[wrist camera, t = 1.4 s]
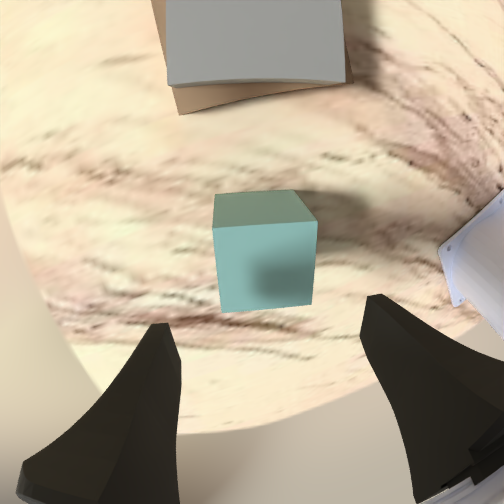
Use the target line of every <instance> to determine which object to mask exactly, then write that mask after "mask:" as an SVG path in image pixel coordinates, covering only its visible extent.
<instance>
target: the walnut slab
mask: <svg viewBox="0 0 504 504" xmlns="http://www.w3.org/2000/svg"><path fill="white" fill-rule="evenodd" d="M151 2H152V7H153V11H154V16H155V20H156V25H157V29H158V33H159V38H160V42H161V46H162V50H163V54H164V58H165V62H166V66H167V56H166V0H151ZM344 53H345V82H344V83H337V84H331V85H325V84H309V83H274V82H267V83H231V84H215V85H203V86H193V87H184V88H174V87H172V90H173V94H174V98H175V102H176V106H177V109H178V113H179V115H184V114H188V113H191V112H195V111H198V110H202V109H206V108H209V107H213V106H217V105H221V104H226V103H230V102H234V101H239V100H243V99H248V98H253V97H258V96H263V95H269V94H274V93H280V92H286V91H293V90H299V89H307V88H315V87H323V86H332V85H343V84H352V83H354V81H353V76H352V71H351V66H350V61H349V57H348V52H347V48H346V44H345V40H344Z"/></svg>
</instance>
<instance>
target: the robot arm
mask: <svg viewBox="0 0 504 504" xmlns="http://www.w3.org/2000/svg"><path fill="white" fill-rule="evenodd" d="M448 246H449V247H448ZM438 255H439V258H440V261H441V264H442V268H443V271H444V275H445V278H446V282H447V286H448V289H449V293H450V297H451V301H452V305H453V306H454V307H457V306H459V305H460V304H461V303H462V302H463V301H465V300H466V299H467V300H468V301H469V302H470V303H471V304H472V305H473V307H474V308H475V309H476V310H477V311H478V312H479V313H480V314H481V315H482V316H483V317H484V319H485V320H486V321H487V322H488V323H489V324H490V325H491V326H492V328H493V329H494V330H495V331H496V332H497V333H498V335H499V336H500V337H501V338H502V339H503V341H504V189H503V190H502V191H501V192H500V193H499V194H498V195H497V196H496V197H495V198H494V199H493V200H492V201H491V202H490V203H489V204H488V205H487V206H485V207H484V208H483V209H482V210H481V211H480V212H479V213H478V214H477V215H476V216H475V217H474V218H472V219H471V220H470V221H469V222H468V223H467V224H466V225H465V226H463V227H462V228H461V229H460V230H459V231H458V232H457V233H455V234H454V235H453V236H452V237H451V238H450V239H448V240H447V241H446V242H445V243H444V244H442V245H441V246H440V247H439V249H438ZM360 339H361V342H362V345H363V348H364V351H365V353H366V356H367V358H368V360H369V362H370V364H371V366H372V368H373V370H374V372H375V374H376V376H377V378H378V380H379V382H380V384H381V386H382V388H383V390H384V392H385V393H386V396H387V398H388V400H389V402H390V404H391V406H392V409H393V411H394V414H395V417H396V419H397V422H398V426H399V428H400V432H401V435H402V439H403V442H404V446H405V449H406V454H407V458H408V463H409V467H410V473H411V480H412V487H413V496H414V498H415V501H416V503H417V504H419V503H421V502H423V501H425V500H427V499H429V498H431V497H433V496H435V495H437V494H439V493H440V492H442V491H444V490H446V489H448V488H449V490H447V491H445V492H443V493H441V494H439V495H437V496H435V497H434V498H432V499H430V500H428V501H426V502H424V503H422V504H504V361H501V360H497V359H495V358H492V357H489V356H487V355H484V354H482V353H479V352H477V351H475V350H472V349H470V348H468V347H466V346H464V345H462V344H460V343H458V342H456V341H454V340H453V339H451V338H449V337H447V336H446V335H444V334H442V333H441V332H439V331H437V330H436V329H434V328H433V327H431V326H429V325H428V324H426V323H425V322H423V321H422V320H420V319H419V318H417V317H416V316H414V315H413V314H411V313H410V312H409V311H407V310H406V309H404V308H403V307H401V306H400V305H398V304H397V303H395V302H394V301H392V300H391V299H389V298H388V297H386V296H385V295H383V294H377V295H371V296H367V301H366V306H365V311H364V316H363V321H362V326H361V331H360ZM180 395H181V359H180V357H179V354H178V351H177V348H176V345H175V342H174V339H173V336H172V333H171V330H170V327H169V324H168V323H159V324H151V326H150V327H149V329H148V330H147V332H146V333H145V335H144V336H143V338H142V339H141V341H140V343H139V344H138V346H137V347H136V349H135V350H134V352H133V353H132V355H131V356H130V358H129V359H128V361H127V362H126V364H125V365H124V367H123V368H122V369H121V371H120V372H119V374H118V375H117V376H116V378H115V379H114V380H113V382H112V383H111V384H110V386H109V387H108V388H107V389H106V391H105V392H104V393H103V394H102V396H101V397H100V398H99V399H98V400H97V401H96V403H95V404H94V405H93V406H92V407H91V408H90V409H89V410H88V411H87V412H86V413H85V414H84V415H83V416H82V417H81V418H80V419H79V420H78V421H77V422H76V423H75V424H74V425H73V426H72V427H71V428H70V429H69V430H67V431H66V432H65V433H64V434H63V435H61V436H60V437H59V438H57V439H56V440H55V441H53V442H52V443H51V444H50V445H48V446H47V447H45V448H44V449H42V450H41V451H39V452H38V453H36V454H35V455H33V456H31V457H30V458H28V459H27V460H25V461H24V462H23V464H22V468H21V472H20V477H19V480H18V485H17V490H16V494H17V496H18V497H19V498H20V499H22V500H23V501H25V502H27V503H28V504H180V501H179V492H178V481H177V467H176V434H177V423H178V414H179V404H180Z"/></svg>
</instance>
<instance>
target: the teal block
mask: <svg viewBox="0 0 504 504" xmlns="http://www.w3.org/2000/svg"><path fill="white" fill-rule="evenodd" d="M317 226H318V221H317V219H316V218H315V217H314V216H313V214H312V213H311V212H310V210H309V209H308V208H307V207H306V205H305V204H304V203H303V202H302V200H301V199H300V198H299V197H298V195H297V194H296V193H295V192H294V190H275V191H257V192H241V193H226V194H215V200H214V212H213V226H212V230H213V240H214V249H215V259H216V268H217V277H218V285H219V294H220V302H221V310H222V313H227V312H240V311H252V310H263V309H274V308H284V307H294V306H303V305H311V304H312V294H313V282H314V270H315V257H316V242H317Z"/></svg>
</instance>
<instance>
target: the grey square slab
mask: <svg viewBox="0 0 504 504" xmlns="http://www.w3.org/2000/svg"><path fill="white" fill-rule="evenodd" d="M166 56H167V81H168V86H171V87H174V88H184V87H193V86H203V85H215V84H231V83H267V82H274V83H309V84H325V85H331V84H337V83H344V82H345V53H344V34H343V20H342V8H341V0H166Z"/></svg>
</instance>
